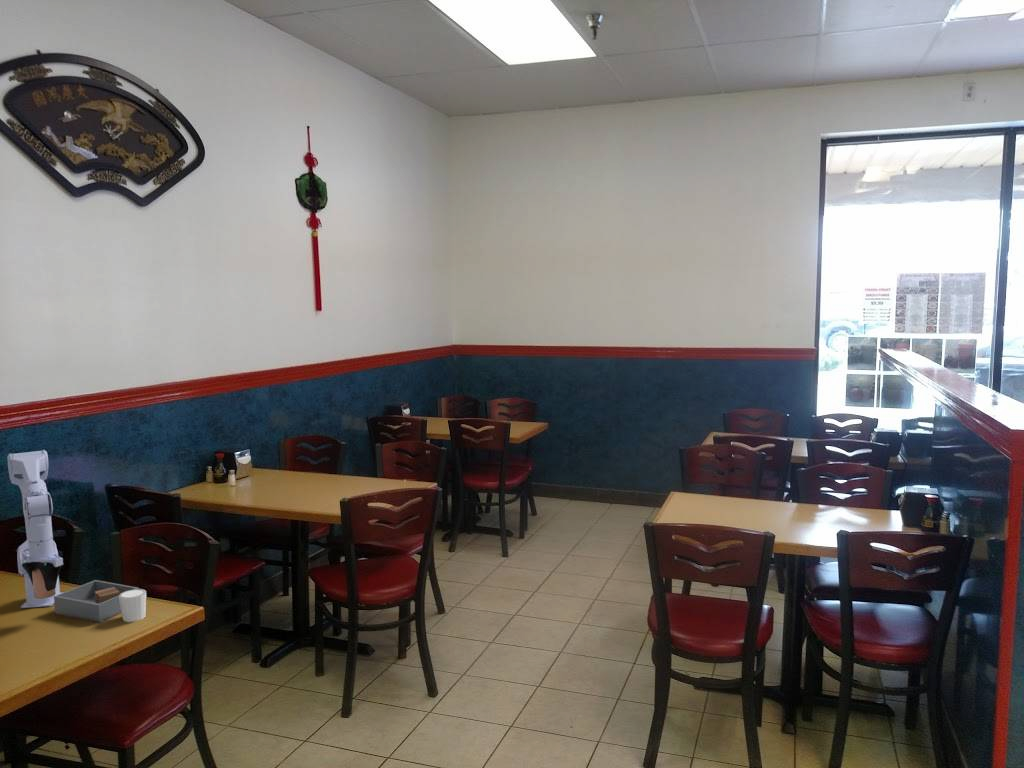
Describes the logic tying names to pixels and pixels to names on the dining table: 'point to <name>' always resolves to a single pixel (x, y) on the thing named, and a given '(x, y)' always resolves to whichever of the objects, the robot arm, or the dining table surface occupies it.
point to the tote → (89, 601)
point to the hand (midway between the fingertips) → (44, 588)
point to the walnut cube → (105, 594)
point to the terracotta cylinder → (40, 586)
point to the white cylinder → (133, 604)
